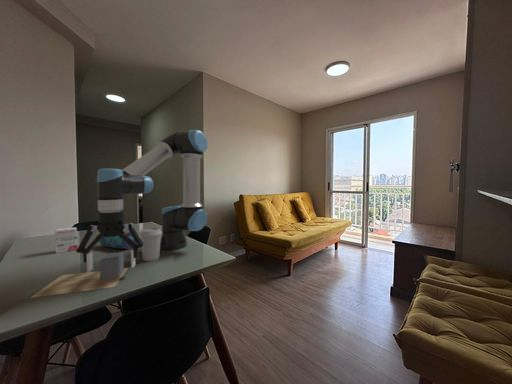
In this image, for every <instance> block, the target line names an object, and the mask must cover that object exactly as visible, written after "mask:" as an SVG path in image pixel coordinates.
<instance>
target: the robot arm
mask: <svg viewBox="0 0 512 384" xmlns="http://www.w3.org/2000/svg"><path fill="white" fill-rule="evenodd" d="M207 149H208V139H207V137H206V135H205V134H204V133H203V132H202V131H201V130H199V129H190V130H184V131H183V130H182V131H175V132H174V133H171V134H169V135H168V136H166V137H164V138H163V139H162V140H160V141H159V142H158V143H157V144H156V146H155V147H154V148H152V149H150V150H149V151H147V152H146V153H145V154H143V155H142V156H141V157H139V158H137V159H136V160H134V161H133V162H132V163H130V164H128V165H127V166H126V167H124V168H123V169H121V168H109V167H108V168H104V167H103V168H99V169H98V170H97V175H96V183H97V184H96V185H97V186H96V187H97V211H98V213H97V218H98V220H97V221H98V222H97V223H98V224H97V225H94V224H90V225H88V226H87V228H86V233H85V234H84V236H83V238H82V240H81V242H80V244H79V245H78V246H77V250H75V252H76V253H77V254H79V253H81V254H83V257H82V258H83V263H85V264H86V272H87V273H88V272H93V270H94V257H93V256H94V253H93V251H92V250H93V248H94V247H95V246H96V245H97V244H98V243H100V242H99V241H100V239H101V238H102V237H103V236H104V237H116V236H119V237H120V238H122V239H123V240H124V241H125V242H126V243H127V244H128V245H129V246H130V247H131V250H130V268H131V269H132V268H135V266H136V259H137V258H138V257H139V249H142V246H143V242H142V241H141V238H140V236H139V234H138V233H137V231H136V229H135V225H134V222H130V223H124V218H125V217H124V211H123V210H124V195H144V194H149V193H151V192H152V191H153V189H154V180H153V179H152V178H151V177H150V176H149V175H147V174H148V173H149V172H151V171H152V170H153V169H155V168H156V167H157V166H159V165H160V164H161V163H163V161H165V160H166V159H170V158H172V157H174V156H175V155H178V154H180V156H181V158H183V159H182V161H183V163H182V164H183V167H182V169H183V170H182V171H183V178H182V180H183V182H182V183H183V190H182V191H183V198H182V199H183V202H182V203H181V205H174V206H167V207H165V206H164V207H163V208H162V210H161V231H162V234H161V242H160V250H164V251H171V250H179V249H182V248H185V247H187V246H188V239H187V236H186V234H185V231H190V232H198V231H201V230H202V229H203V228H204V227H205V225H206V223H207V221H208V213H207V211H205V210H204V209H203V208H204V206H203V204H202V203H201V193H200V192H201V159H202V158H203V157H204V152H205V151H206V150H207ZM125 228H126V230H127V231H128V232H130V234H131V235H132V237H133V238H134V240H135V242H136V243H135V242H134V241H133V240H132V239H131V238H130V237H128V236H127V235H126V233H127V232H125V231H124V229H125ZM96 230H97V231H98V232H99V234H98V235H96V236H95V238H94V239H93V240H92V241H91V242H90V244H89V243H88V242H89V241H90V239H91V237H92V235H93V234H94V232H96ZM88 244H89V245H88ZM87 245H88V246H87Z"/></svg>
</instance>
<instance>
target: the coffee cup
mask: <svg viewBox="0 0 512 384" xmlns="http://www.w3.org/2000/svg"><path fill="white" fill-rule="evenodd" d="M138 236H139V237H140V239H141V241H142V242H143V246H142V247H141V253H142V254H141V255H142V261H144V262H153V261H156V260H158V259H160V252H161V251H160V250H161V249H160V242H161V236H162V228H160V227H146V228H143V229H141V230H140V232H139V234H138Z"/></svg>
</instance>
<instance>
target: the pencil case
mask: <svg viewBox="0 0 512 384" xmlns="http://www.w3.org/2000/svg"><path fill="white" fill-rule="evenodd" d="M125 233H126V235H127V236H128V237H130V238H131V239H132V240H133V241H134V242H135V240H134V238H133V237H132V235H131V234H130V232H129V231H128V232H125ZM98 243H99V244H100V245H102V246H104V247H109V248H113V249H120V250H122V249H124V250H130V249H131V250H132V248H131V247H130V246H129V245H128V244H127V243H126V242H125V241H124V240H123V239H122V238H120V237H119V236H116V237H104V236H103V237H102V238H101V239H100V241H99V242H98ZM135 243H136V242H135ZM136 244H137V243H136Z"/></svg>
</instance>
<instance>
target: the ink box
mask: <svg viewBox="0 0 512 384" xmlns="http://www.w3.org/2000/svg"><path fill="white" fill-rule="evenodd" d="M54 239H55V245H54V246H55V253H56V254H58V253H66V252H70V251H76V250H77V249H78V229H77V227H76V226H75V227H67V228H59V229H55V231H54Z"/></svg>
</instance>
